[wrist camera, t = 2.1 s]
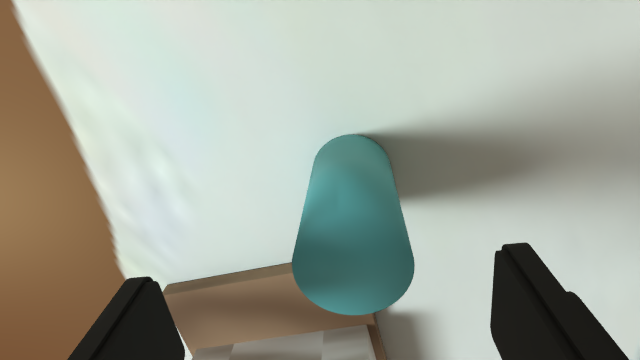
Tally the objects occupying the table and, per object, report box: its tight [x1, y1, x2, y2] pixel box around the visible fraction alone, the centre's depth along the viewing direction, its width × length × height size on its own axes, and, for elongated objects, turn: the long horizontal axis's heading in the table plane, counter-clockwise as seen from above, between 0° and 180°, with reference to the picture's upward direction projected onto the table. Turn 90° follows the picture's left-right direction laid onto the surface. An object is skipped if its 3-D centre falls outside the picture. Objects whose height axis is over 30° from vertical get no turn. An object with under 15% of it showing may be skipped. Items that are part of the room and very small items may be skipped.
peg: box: [292, 135, 414, 315], centre depth 16 cm, size 4×4×8 cm
